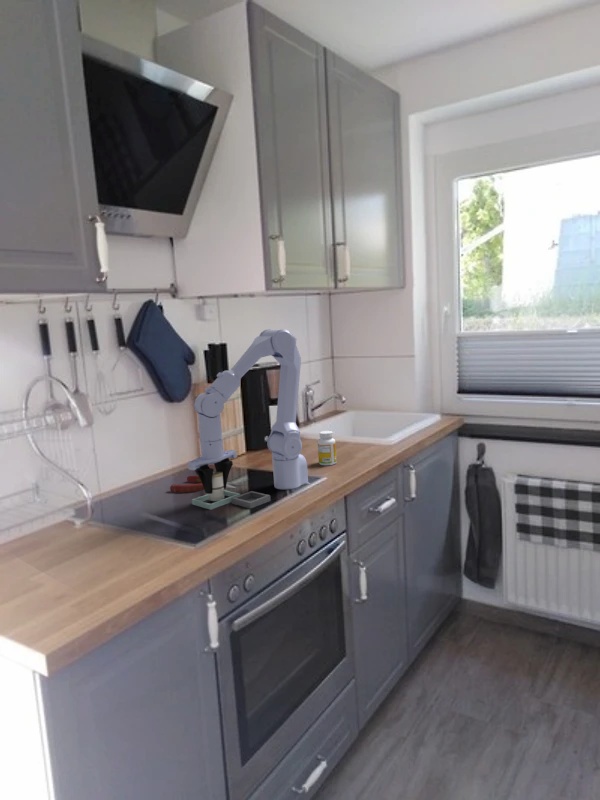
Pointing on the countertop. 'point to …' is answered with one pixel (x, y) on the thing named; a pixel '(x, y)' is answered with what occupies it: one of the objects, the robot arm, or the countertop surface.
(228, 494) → the teal rectangular frame
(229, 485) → the pliers
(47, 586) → the countertop surface
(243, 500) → the socket block
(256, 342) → the robot arm
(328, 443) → the supplement bottle
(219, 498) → the cylinder
